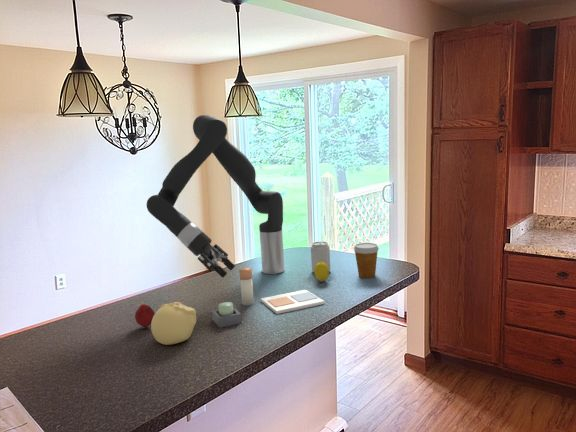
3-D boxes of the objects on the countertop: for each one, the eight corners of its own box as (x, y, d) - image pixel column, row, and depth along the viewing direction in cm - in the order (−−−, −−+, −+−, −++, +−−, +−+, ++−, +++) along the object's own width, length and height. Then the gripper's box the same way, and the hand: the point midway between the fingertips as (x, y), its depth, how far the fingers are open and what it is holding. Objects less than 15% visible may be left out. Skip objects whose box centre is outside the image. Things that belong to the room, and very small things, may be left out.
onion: (159, 324, 151) (157, 299, 149) (148, 332, 145) (145, 306, 144) (143, 323, 153) (141, 298, 151) (132, 330, 147) (129, 305, 146)
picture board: (260, 301, 166) (260, 297, 166) (305, 292, 173) (305, 288, 173) (276, 314, 154) (276, 310, 153) (324, 303, 160) (324, 300, 160)
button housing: (213, 320, 152) (212, 311, 151) (234, 315, 154) (233, 306, 154) (219, 327, 145) (218, 318, 145) (241, 323, 148) (240, 313, 147)
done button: (217, 316, 151) (216, 303, 150) (231, 313, 152) (230, 301, 152) (221, 320, 147) (220, 308, 146) (235, 317, 148) (234, 305, 148)
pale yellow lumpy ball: (204, 334, 141) (200, 299, 139) (176, 352, 131) (172, 313, 129) (173, 329, 147) (170, 294, 145) (144, 345, 136) (140, 308, 134)
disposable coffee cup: (363, 270, 195) (363, 241, 193) (384, 274, 188) (383, 244, 186) (349, 276, 188) (348, 246, 186) (370, 280, 181) (369, 249, 179)
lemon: (329, 279, 186) (328, 259, 185) (329, 283, 181) (328, 263, 179) (315, 279, 187) (314, 259, 185) (314, 284, 181) (313, 263, 180)
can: (309, 273, 195) (307, 244, 193) (315, 268, 202) (314, 240, 200) (327, 274, 192) (325, 245, 190) (332, 269, 199) (331, 240, 197)
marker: (240, 302, 166) (237, 268, 164) (251, 300, 168) (249, 266, 166) (244, 306, 162) (241, 271, 160) (256, 304, 164) (253, 269, 162)
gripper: (192, 235, 157) (229, 270, 156) (208, 227, 171) (242, 258, 170) (179, 252, 159) (215, 286, 158) (195, 242, 173) (229, 273, 172)
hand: (229, 271), depth 164 cm, fingers open, 8 cm apart
